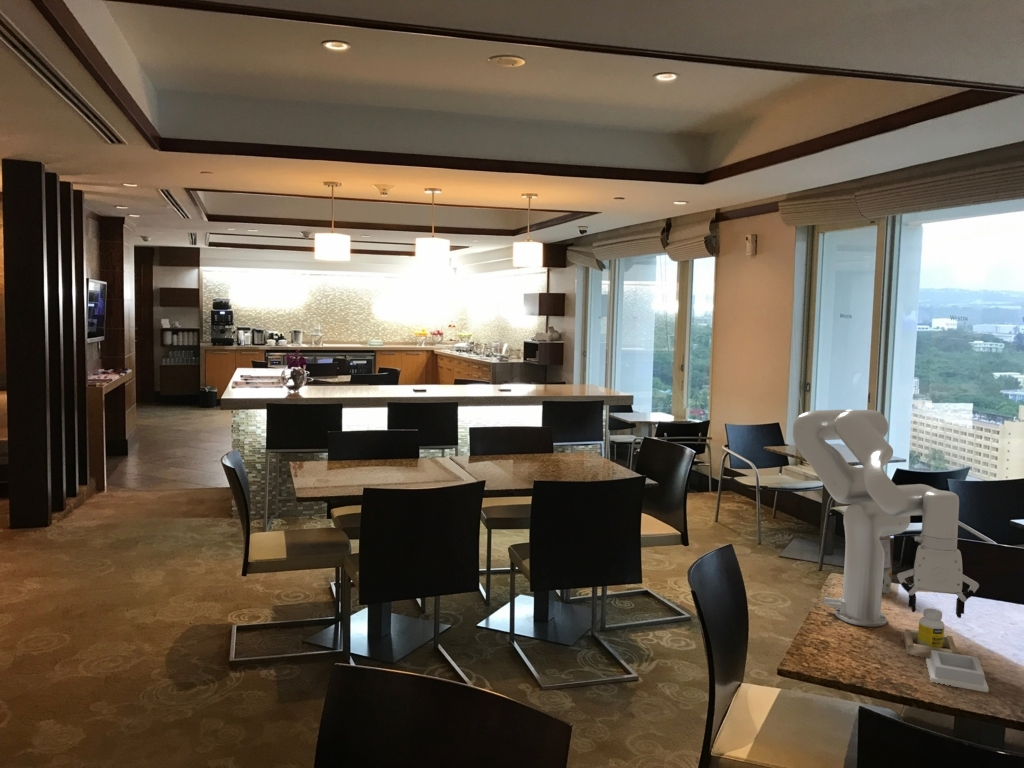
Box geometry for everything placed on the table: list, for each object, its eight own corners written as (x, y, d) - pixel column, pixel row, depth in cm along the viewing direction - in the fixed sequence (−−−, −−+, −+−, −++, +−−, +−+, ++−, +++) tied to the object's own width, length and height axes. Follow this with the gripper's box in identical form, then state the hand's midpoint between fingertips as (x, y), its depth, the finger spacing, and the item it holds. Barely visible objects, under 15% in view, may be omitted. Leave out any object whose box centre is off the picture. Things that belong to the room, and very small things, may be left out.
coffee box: (891, 593, 233) (895, 539, 231) (870, 593, 232) (874, 539, 231) (874, 582, 242) (878, 530, 240) (854, 582, 241) (858, 530, 240)
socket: (930, 682, 176) (932, 666, 176) (925, 662, 186) (927, 647, 186) (988, 692, 172) (989, 676, 172) (979, 671, 182) (981, 656, 182)
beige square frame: (907, 654, 190) (908, 644, 190) (904, 638, 200) (904, 628, 200) (956, 663, 187) (957, 652, 186) (951, 646, 196) (951, 636, 196)
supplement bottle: (932, 656, 190) (935, 616, 189) (911, 648, 194) (915, 608, 194) (947, 652, 192) (950, 613, 191) (926, 644, 197) (929, 605, 196)
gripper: (899, 542, 190) (896, 613, 191) (983, 550, 184) (979, 623, 185) (897, 535, 197) (894, 603, 198) (978, 543, 191) (974, 613, 192)
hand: (935, 613), depth 192 cm, fingers open, 9 cm apart
